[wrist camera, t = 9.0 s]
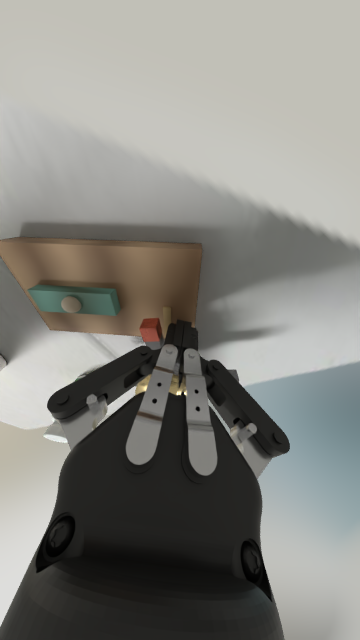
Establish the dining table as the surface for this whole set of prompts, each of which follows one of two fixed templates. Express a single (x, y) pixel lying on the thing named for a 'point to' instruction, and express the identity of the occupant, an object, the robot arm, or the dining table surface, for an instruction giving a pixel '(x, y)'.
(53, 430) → the supplement bottle
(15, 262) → the stand
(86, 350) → the dining table surface
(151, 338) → the capstan
